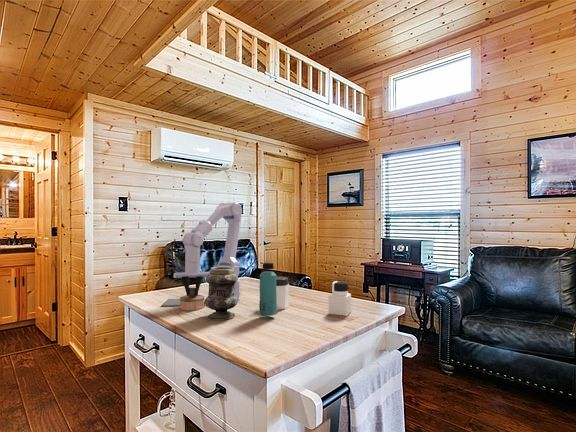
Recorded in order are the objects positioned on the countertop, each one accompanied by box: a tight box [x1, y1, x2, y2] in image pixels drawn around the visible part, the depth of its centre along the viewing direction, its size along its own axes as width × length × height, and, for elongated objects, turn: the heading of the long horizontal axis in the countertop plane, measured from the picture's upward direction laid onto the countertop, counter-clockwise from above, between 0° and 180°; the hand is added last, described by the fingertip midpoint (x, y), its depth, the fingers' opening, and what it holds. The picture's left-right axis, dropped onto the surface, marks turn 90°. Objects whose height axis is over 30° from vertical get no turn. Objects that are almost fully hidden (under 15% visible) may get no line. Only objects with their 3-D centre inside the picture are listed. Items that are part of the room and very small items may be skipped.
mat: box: [160, 298, 180, 308], centre depth 142 cm, size 12×12×1 cm
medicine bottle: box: [328, 280, 352, 317], centre depth 127 cm, size 7×7×12 cm
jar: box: [276, 275, 290, 310], centre depth 136 cm, size 9×8×12 cm
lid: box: [179, 287, 205, 302], centre depth 134 cm, size 10×10×4 cm
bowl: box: [179, 299, 205, 312], centre depth 134 cm, size 9×9×4 cm
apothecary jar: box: [204, 266, 239, 321], centre depth 122 cm, size 12×12×18 cm
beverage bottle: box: [258, 262, 278, 317], centre depth 121 cm, size 6×7×20 cm
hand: (192, 295), depth 134 cm, fingers closed on lid, 3 cm apart
